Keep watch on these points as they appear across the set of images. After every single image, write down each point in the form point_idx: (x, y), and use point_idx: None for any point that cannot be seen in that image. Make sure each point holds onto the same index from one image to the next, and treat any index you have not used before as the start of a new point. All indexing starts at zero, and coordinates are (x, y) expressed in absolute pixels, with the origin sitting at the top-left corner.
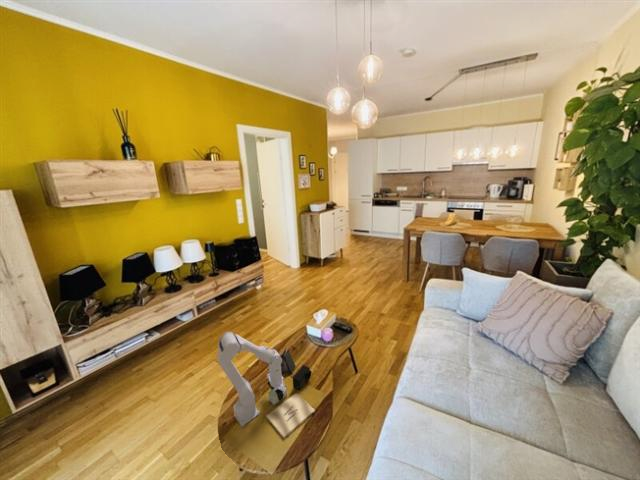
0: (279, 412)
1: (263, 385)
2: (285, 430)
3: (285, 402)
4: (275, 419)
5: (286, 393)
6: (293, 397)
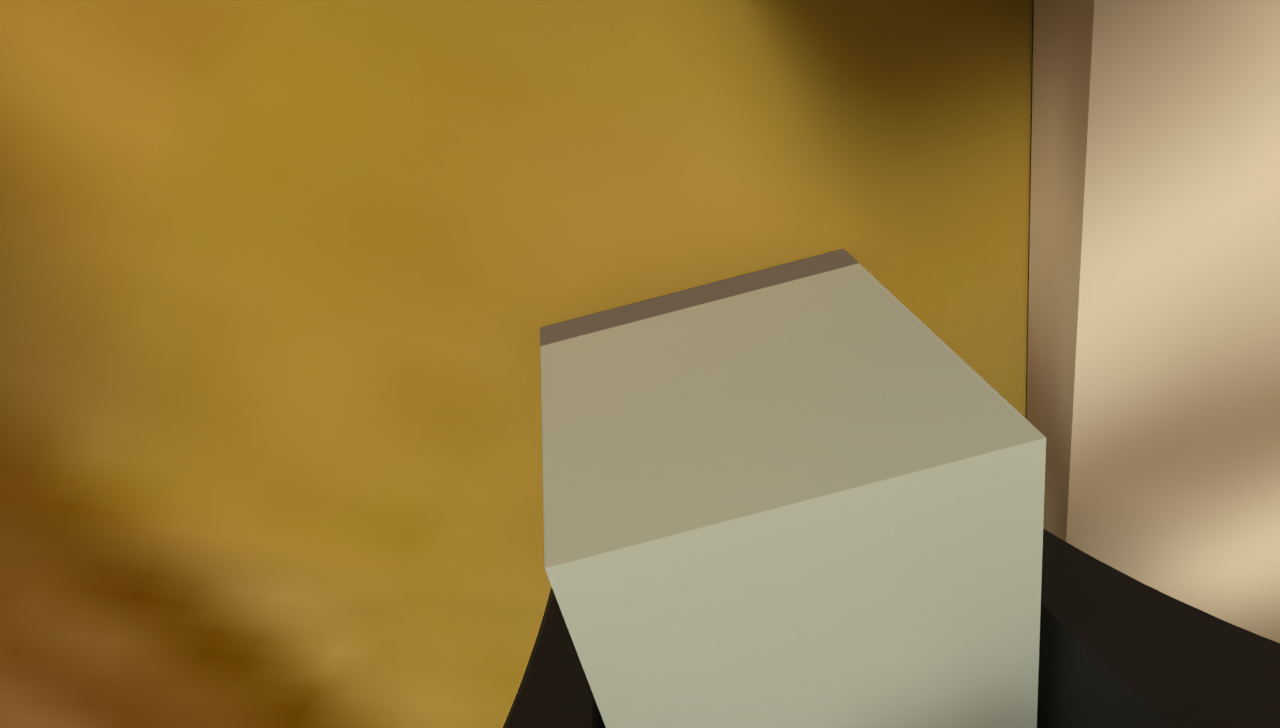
0: None
1: (46, 722)
2: None
3: (1111, 426)
4: None
5: (898, 315)
6: (1180, 113)
